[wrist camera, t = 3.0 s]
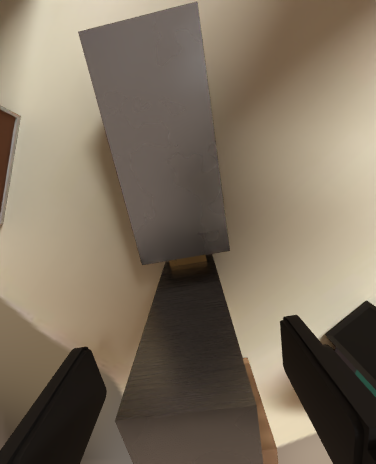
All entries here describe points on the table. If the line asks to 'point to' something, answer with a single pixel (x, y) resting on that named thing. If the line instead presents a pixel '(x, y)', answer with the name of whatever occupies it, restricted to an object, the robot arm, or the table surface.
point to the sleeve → (160, 130)
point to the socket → (262, 423)
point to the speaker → (358, 343)
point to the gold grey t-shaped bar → (189, 377)
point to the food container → (7, 153)
